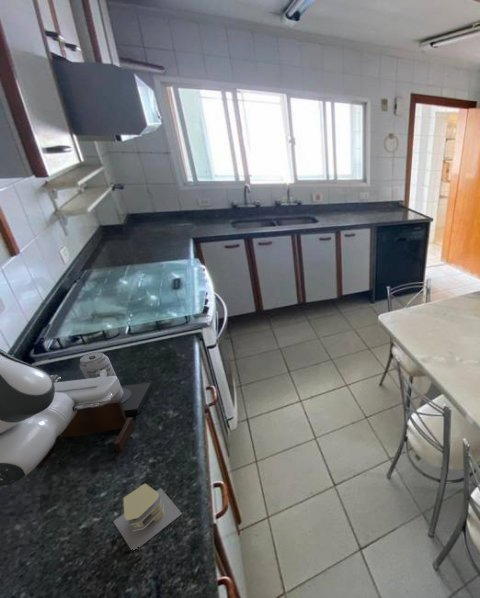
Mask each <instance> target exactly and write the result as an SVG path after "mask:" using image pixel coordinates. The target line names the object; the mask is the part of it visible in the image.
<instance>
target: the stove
mask: <svg viewBox="0 0 480 598" xmlns="http://www.w3.org/2000/svg"><path fill="white" fill-rule="evenodd" d="M121 387H122V390H123V395H122V397H121V399H119V400H120V402H121V404H122V407H123V410H124V413H125V415H126V417H128V416H134V415H139V414H140V412H141V410H142V408H143V406H144V405H145V402H146V401H147V398H148V396H149V395H150V392H151V391H152V389H153V385H152V382H150V381H149V382H143V383H142V382H141V383H135V384H126V385H121Z"/></svg>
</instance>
